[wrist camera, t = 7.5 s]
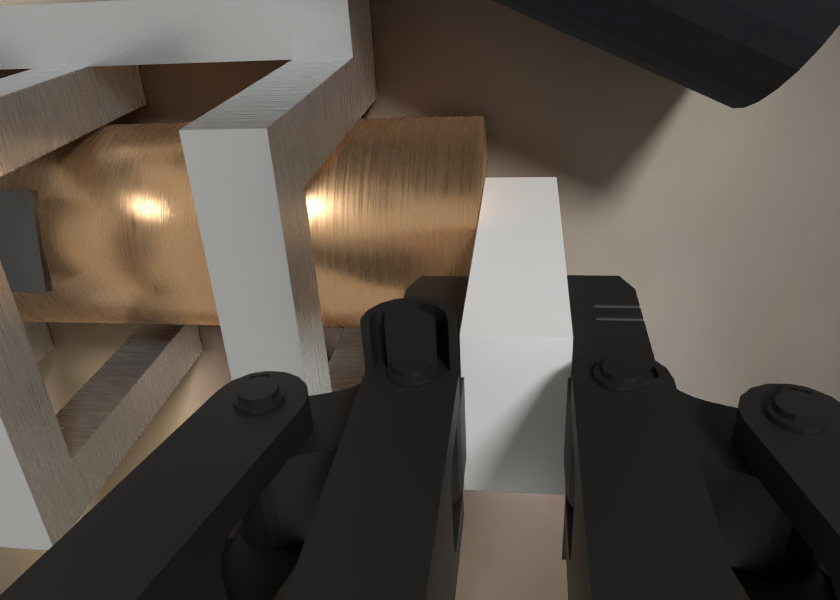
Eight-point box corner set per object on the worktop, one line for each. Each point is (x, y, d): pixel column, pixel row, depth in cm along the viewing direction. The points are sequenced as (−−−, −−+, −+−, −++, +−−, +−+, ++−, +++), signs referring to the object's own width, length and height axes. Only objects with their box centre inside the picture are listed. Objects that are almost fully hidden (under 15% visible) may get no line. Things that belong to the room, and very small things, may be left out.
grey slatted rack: (367, -20, 15) (251, 29, 9) (397, 355, 19) (335, 569, 13) (-110, 4, 17) (-501, 60, 10) (16, 345, 21) (-205, 533, 15)
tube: (488, 115, 17) (474, 115, 12) (488, 300, 18) (475, 360, 13) (14, 127, 18) (-144, 130, 14) (40, 294, 19) (-99, 346, 15)
